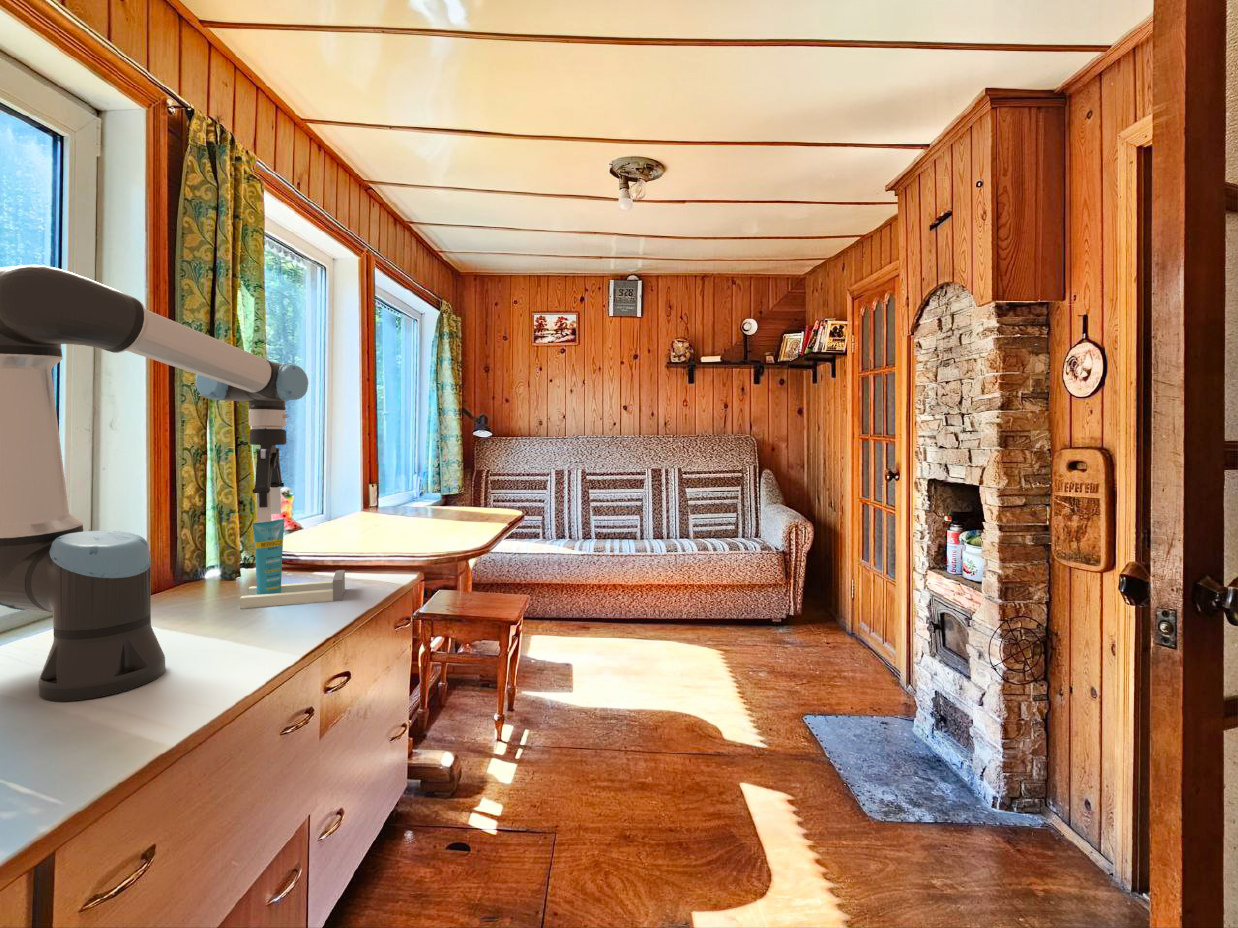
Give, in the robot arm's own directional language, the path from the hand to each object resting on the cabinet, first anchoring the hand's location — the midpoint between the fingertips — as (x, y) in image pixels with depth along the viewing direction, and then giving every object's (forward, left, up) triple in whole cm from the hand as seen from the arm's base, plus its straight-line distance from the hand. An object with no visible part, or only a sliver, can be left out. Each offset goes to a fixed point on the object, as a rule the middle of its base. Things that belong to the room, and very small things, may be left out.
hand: (269, 517), depth 140 cm
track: (0, -5, -20) cm, 20 cm away
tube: (0, 0, -20) cm, 20 cm away
